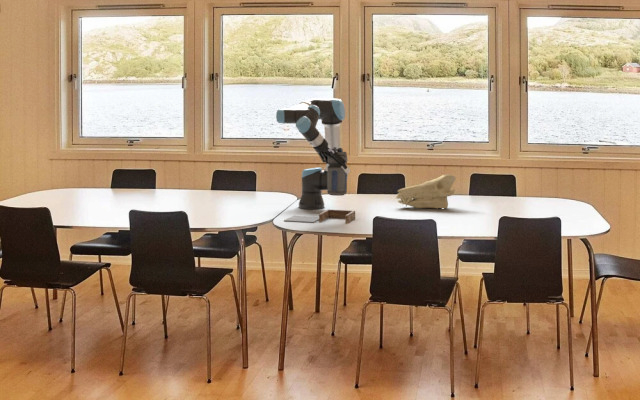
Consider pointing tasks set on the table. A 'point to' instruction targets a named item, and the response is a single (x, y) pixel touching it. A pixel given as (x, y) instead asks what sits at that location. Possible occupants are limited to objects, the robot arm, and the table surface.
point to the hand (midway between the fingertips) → (342, 171)
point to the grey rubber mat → (302, 219)
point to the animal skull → (428, 193)
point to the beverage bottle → (337, 176)
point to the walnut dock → (337, 215)
